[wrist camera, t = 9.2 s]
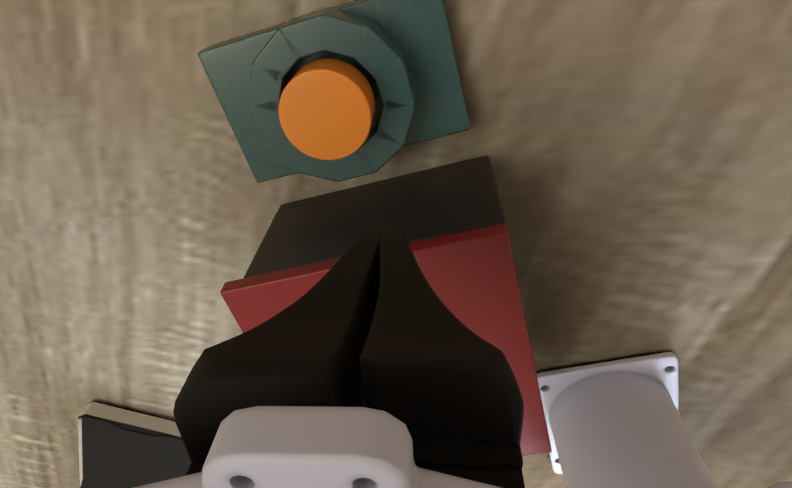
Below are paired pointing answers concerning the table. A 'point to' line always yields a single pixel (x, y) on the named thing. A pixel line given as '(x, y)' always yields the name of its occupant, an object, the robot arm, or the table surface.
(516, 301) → the lid
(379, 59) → the control block
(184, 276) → the table surface
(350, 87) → the button
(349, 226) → the dark open storage box
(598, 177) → the table surface
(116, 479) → the smartphone
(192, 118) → the table surface
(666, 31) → the table surface
